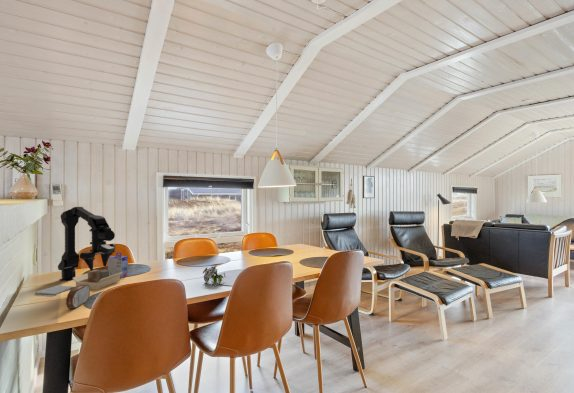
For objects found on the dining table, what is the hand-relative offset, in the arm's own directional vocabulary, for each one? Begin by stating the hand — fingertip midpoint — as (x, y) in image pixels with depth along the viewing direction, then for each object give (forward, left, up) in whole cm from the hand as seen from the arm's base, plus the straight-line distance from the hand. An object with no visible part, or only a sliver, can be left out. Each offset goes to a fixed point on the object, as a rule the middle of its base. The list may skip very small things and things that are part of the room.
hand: (98, 268), depth 176 cm
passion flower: (+61, +14, -9) cm, 63 cm away
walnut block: (0, 0, -9) cm, 9 cm away
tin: (+16, -29, -9) cm, 34 cm away
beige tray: (0, 0, -9) cm, 9 cm away
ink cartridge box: (-1, +16, -9) cm, 19 cm away
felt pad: (-13, -14, -9) cm, 21 cm away
